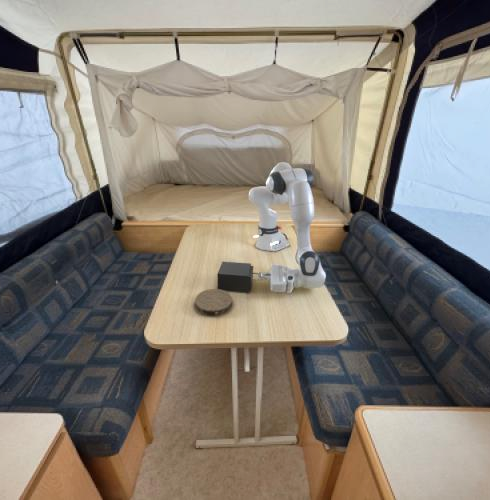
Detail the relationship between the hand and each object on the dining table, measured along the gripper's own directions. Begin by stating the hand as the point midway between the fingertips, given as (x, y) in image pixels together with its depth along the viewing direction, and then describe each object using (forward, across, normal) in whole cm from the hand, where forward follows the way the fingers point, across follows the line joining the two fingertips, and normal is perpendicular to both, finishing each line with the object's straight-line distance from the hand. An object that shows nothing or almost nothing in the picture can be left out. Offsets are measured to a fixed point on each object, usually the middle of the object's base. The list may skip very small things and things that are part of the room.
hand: (260, 276), depth 128 cm
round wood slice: (+20, +18, +6) cm, 27 cm away
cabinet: (+13, 0, +6) cm, 14 cm away
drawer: (+9, 0, +5) cm, 10 cm away
